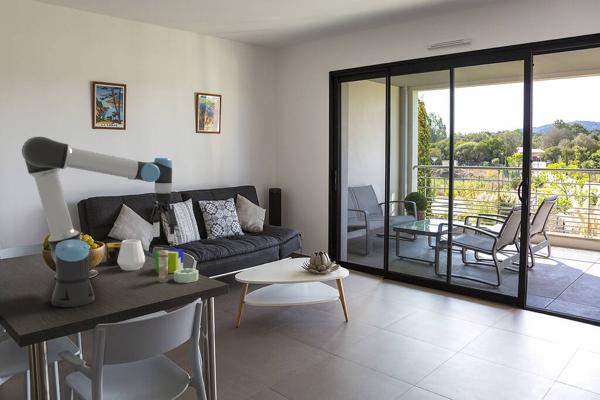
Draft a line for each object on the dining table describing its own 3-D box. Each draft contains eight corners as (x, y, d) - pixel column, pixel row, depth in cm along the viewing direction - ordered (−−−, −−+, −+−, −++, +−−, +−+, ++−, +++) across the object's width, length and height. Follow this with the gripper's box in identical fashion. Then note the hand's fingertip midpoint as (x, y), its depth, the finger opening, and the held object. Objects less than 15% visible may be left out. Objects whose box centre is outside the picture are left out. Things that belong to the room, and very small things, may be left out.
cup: (150, 266, 245) (150, 239, 243) (135, 272, 232) (134, 244, 231) (128, 264, 248) (127, 237, 247) (111, 270, 236) (111, 242, 234)
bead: (182, 283, 215) (182, 275, 215) (170, 279, 223) (170, 270, 222) (201, 280, 222) (202, 271, 222) (190, 275, 230) (190, 267, 229)
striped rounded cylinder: (161, 282, 216) (161, 252, 214) (157, 280, 219) (157, 250, 217) (169, 281, 219) (169, 251, 217) (165, 279, 222) (165, 249, 220)
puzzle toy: (182, 268, 243) (183, 249, 242) (175, 273, 233) (175, 253, 232) (163, 267, 244) (163, 248, 243) (156, 272, 234) (156, 252, 233)
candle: (106, 261, 253) (105, 243, 252) (126, 260, 257) (126, 242, 256) (107, 266, 244) (106, 246, 242) (128, 264, 248) (128, 245, 247)
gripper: (185, 194, 208) (185, 242, 211) (157, 189, 226) (158, 233, 228) (169, 195, 203) (169, 244, 205) (142, 190, 221) (143, 235, 223)
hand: (163, 238), depth 217 cm, fingers open, 13 cm apart
